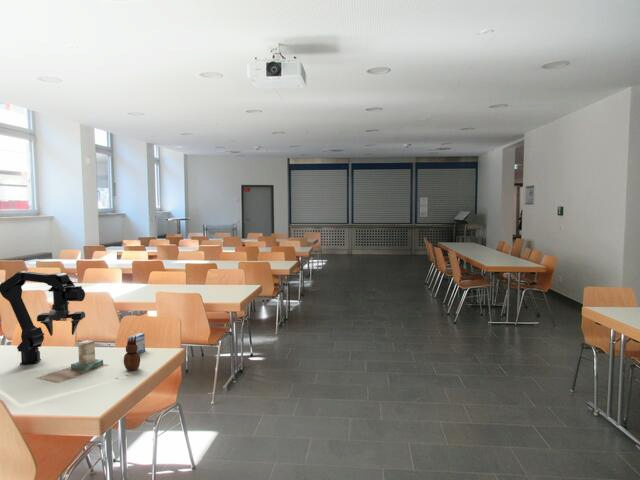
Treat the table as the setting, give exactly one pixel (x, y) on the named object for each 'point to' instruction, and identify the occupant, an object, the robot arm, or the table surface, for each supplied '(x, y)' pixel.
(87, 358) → the birch block
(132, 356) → the wooden figurine
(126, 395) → the table surface
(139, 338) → the medicine box
